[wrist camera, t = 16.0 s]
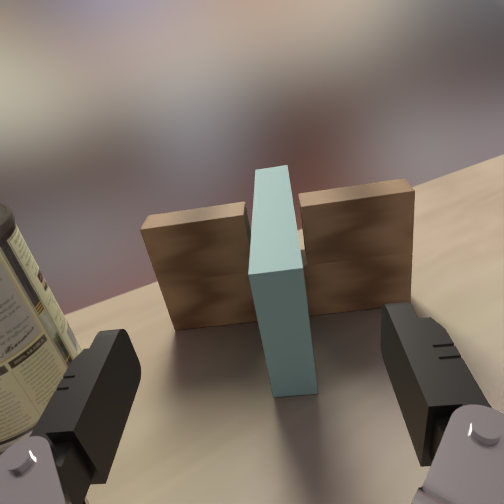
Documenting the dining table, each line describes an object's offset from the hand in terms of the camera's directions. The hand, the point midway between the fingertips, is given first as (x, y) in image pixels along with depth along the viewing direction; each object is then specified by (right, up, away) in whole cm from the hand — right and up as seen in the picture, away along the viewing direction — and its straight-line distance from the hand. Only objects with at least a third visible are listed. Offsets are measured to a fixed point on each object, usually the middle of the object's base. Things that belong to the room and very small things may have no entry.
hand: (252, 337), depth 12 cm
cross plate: (+3, -2, +22) cm, 22 cm away
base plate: (+3, -2, +22) cm, 22 cm away
